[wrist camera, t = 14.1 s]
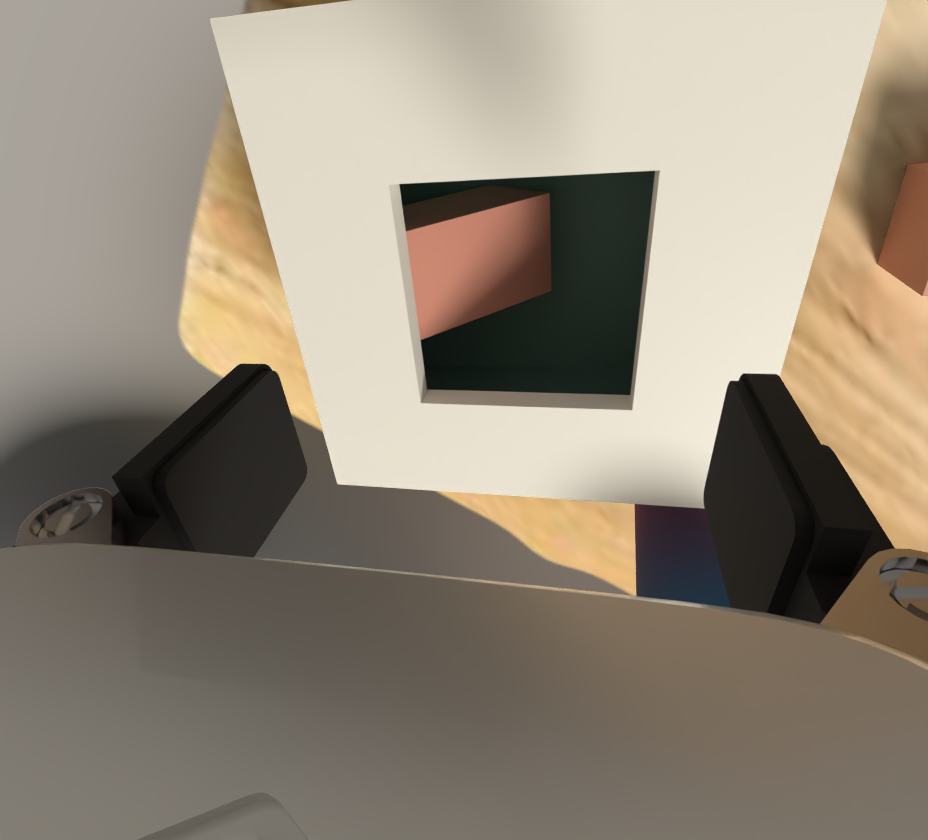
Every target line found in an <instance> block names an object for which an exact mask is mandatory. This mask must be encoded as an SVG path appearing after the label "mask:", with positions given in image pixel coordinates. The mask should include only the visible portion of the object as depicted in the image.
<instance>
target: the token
mask: <svg viewBox="0 0 928 840" xmlns="http://www.w3.org/2000/svg"><path fill="white" fill-rule="evenodd" d="M877 264H878V265H879V266H880V267H882V268H883V269H885V270H886V271H888V272H889V273H890V274H892V275H893V276H895V277H896V278H897V279H899V280H900V281H902V282H903V283H904V284H906V285H907V286H909V287H910V288H912V289H913V290H914V291H916V292H917V293H919V294H920V295H921V296H928V162H927V163H915V164H908V165H907V168H906V172H905V175H904V178H903V181H902V185H901V188H900V191H899V194H898V198H897V201H896V204H895V207H894V211H893V214H892V217H891V220H890V224H889V227H888V230H887V233H886V237H885V240H884V243H883V246H882V250H881V253H880V256H879V259H878V263H877Z"/></svg>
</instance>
